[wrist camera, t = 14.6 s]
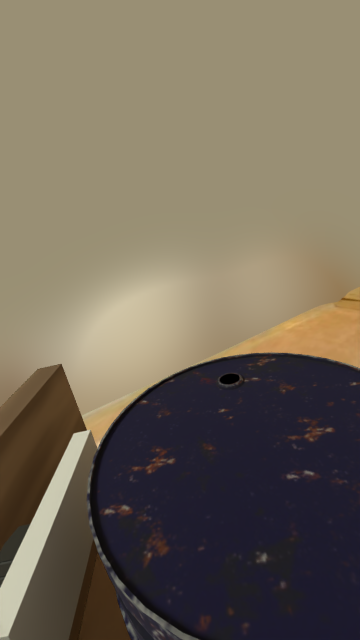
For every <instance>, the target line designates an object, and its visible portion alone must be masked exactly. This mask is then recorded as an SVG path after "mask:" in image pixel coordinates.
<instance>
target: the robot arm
mask: <svg viewBox="0 0 360 640" xmlns="http://www.w3.org/2000/svg"><path fill="white" fill-rule="evenodd" d="M97 449H98V448H97V446H96V443H95V441H94V438H93V435H92V433H91V430H87V431H83V432H78V433H74V434H73V436H72V438H71V440H70V443H69V445H68V447H67V449H66V451H65V453H64V455H63V457H62V459H61V461H60V463H59V466H58V468H57V470H56V472H55V474H54V476H53V478H52V480H51V482H50V484H49V487H48V489H47V491H46V493H45V495H44V497H43V499H42V501H41V503H40V505H39V507H38V510H37V512H36V514H35V516H34V518H33V520H32V522H31V524H28V525H23V526H19V527H18V528H17V529H16V530H15V532H14V533H13V534H12V535H11V536H10V538H9V539H8V540H7V541H6V542H5V544H4V545H3V547H2V549H1V551H0V640H69V636H70V632H71V628H72V624H73V620H74V616H75V611H76V607H77V603H78V599H79V595H80V591H81V587H82V583H83V579H84V575H85V571H86V567H87V563H88V558H89V554H90V550H91V546H92V542H93V535H92V532H91V529H90V526H89V518H88V509H87V488H88V477H89V473H90V469H91V466H92V462H93V458H94V455H95V453H96V451H97Z"/></svg>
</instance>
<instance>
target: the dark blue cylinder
mask: <svg viewBox="0 0 360 640" xmlns="http://www.w3.org/2000/svg"><path fill="white" fill-rule="evenodd" d="M87 509H88V518H89V526H90V529H91V532H92V535H93V538H94V541H95V544H96V547H97V550H98V553H99V556H100V558H101V560H102V562H103V565H104V567H105V569H106V571H107V574H108V576H109V578H110V580H111V581H112V583H113V585H114V587H115V590H116V594H117V600H118V604H119V607H120V610H121V612H122V615H123V618H124V621H125V624H126V627H127V630H128V633H129V636H130V638H131V640H360V368H358V367H355V366H352V365H349V364H346V363H342V362H338V361H334V360H331V359H327V358H321V357H315V356H310V355H302V354H292V353H252V354H242V355H235V356H229V357H223V358H219V359H215V360H211V361H207V362H203V363H200V364H197V365H194V366H191V367H189V368H186V369H184V370H182V371H179V372H177V373H175V374H173V375H171V376H169V377H167V378H165V379H163V380H161V381H160V382H158V383H156V384H155V385H153V386H152V387H150V388H148V389H147V390H146V391H144V392H143V393H142V394H141V395H139V396H138V397H137V398H135V399H134V400H133V401H132V402H131V403H130V404H129V405H128V406H127V407H126V408H125V409H124V410H123V411H122V412H121V413H120V414H119V416H118V417H117V418H116V419H115V420H114V422H113V423H112V424H111V426H110V427H109V429H108V430H107V432H106V433H105V435H104V437H103V438H102V440H101V442H100V444H99V447H98V449H97V451H96V453H95V455H94V458H93V462H92V466H91V469H90V473H89V477H88V488H87Z"/></svg>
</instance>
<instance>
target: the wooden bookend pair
mask: <svg viewBox="0 0 360 640" xmlns="http://www.w3.org/2000/svg"><path fill="white" fill-rule="evenodd" d="M83 431H87V429H86V427H85V424H84V421H83V419H82V416H81V414H80V411H79V408H78V406H77V403H76V401H75V398H74V395H73V393H72V390H71V388H70V385H69V383H68V380H67V377H66V375H65V372H64V369H63V367H62V364H58V365H54V366H50V367H45V368H40V369H37V371H36V372H35V373H34V374H33V375H32V376H31V377H30V378H29V379H28V380H27V381H26V382H25V383H24V384H23V385H22V386H21V387H20V388H19V389H18V390H17V391H16V392H15V393H14V394H13V395H12V396H11V397H10V398H9V399H8V400H7V401H6V402H5V403H4V404H3V405H2V406H1V407H0V551H1V549H2V547H3V545H4V544H5V542H6V541H7V540H8V539H9V538H10V536H11V535H12V534H13V533H14V532H15V530H16V529H17V528H18V527H19V526H23V525H28V524H31V522H32V520H33V518H34V516H35V514H36V512H37V510H38V507H39V505H40V503H41V501H42V499H43V497H44V495H45V493H46V491H47V489H48V487H49V484H50V482H51V480H52V478H53V476H54V474H55V472H56V470H57V468H58V466H59V463H60V461H61V459H62V457H63V455H64V453H65V451H66V449H67V447H68V445H69V443H70V440H71V438H72V436H73V434H74V433H78V432H83ZM97 551H98V550H97V547H96V544H95V541H94V538H93V542H92V546H91V550H90V554H89V558H88V563H87V567H86V571H85V575H84V579H83V583H82V587H81V591H80V595H79V599H78V603H77V607H76V611H75V616H74V620H73V624H72V628H71V632H70V636H69V640H78V637H79V632H80V628H81V623H82V619H83V614H84V610H85V605H86V601H87V596H88V592H89V587H90V583H91V578H92V574H93V569H94V565H95V560H96V556H97Z"/></svg>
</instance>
